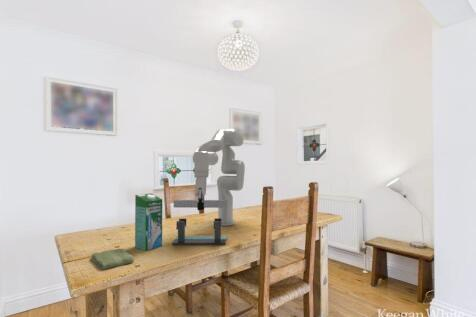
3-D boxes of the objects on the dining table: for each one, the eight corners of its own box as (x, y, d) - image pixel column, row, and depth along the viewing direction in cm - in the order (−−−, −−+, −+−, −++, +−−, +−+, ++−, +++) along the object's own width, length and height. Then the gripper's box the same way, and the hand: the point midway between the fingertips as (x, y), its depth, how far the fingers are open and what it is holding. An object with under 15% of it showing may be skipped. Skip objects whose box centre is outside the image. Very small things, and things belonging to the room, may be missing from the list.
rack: (174, 241, 135) (175, 218, 135) (225, 241, 135) (225, 218, 135) (171, 246, 128) (171, 221, 128) (225, 245, 128) (225, 221, 128)
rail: (175, 206, 140) (175, 199, 140) (227, 206, 141) (227, 200, 141) (173, 207, 137) (173, 200, 137) (227, 207, 137) (227, 201, 138)
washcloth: (121, 252, 120) (121, 245, 120) (135, 263, 107) (135, 255, 107) (89, 259, 111) (89, 251, 111) (100, 272, 98) (100, 264, 98)
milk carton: (145, 250, 121) (146, 196, 121) (134, 247, 126) (135, 194, 126) (162, 245, 128) (162, 194, 128) (151, 242, 133) (151, 193, 134)
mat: (176, 237, 141) (176, 236, 141) (226, 237, 142) (226, 236, 142) (174, 240, 136) (174, 239, 136) (226, 240, 137) (226, 239, 137)
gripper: (196, 174, 147) (196, 207, 147) (192, 175, 131) (191, 212, 130) (209, 174, 148) (209, 207, 147) (207, 175, 131) (206, 212, 131)
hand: (201, 209), depth 139 cm, fingers closed on rail, 3 cm apart
